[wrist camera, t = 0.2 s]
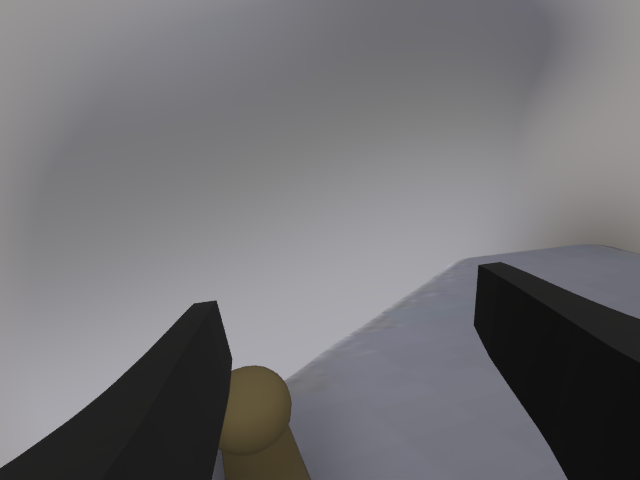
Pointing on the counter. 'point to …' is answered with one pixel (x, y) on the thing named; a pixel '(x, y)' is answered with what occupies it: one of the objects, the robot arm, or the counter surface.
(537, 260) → the counter surface
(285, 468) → the cork
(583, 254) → the counter surface
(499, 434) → the counter surface
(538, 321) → the robot arm
